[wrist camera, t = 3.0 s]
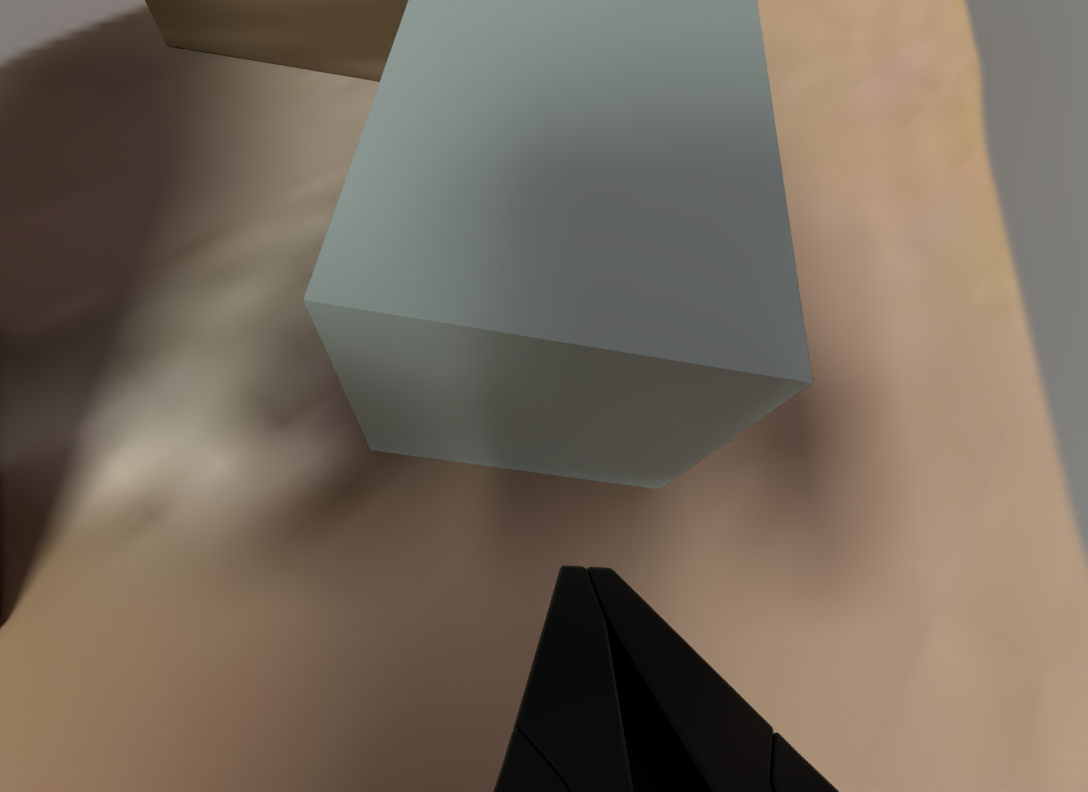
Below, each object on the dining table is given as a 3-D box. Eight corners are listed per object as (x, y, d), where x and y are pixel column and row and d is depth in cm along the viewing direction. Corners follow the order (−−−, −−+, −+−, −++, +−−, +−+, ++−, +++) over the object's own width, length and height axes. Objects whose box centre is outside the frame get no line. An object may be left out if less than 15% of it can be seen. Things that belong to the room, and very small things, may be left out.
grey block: (657, 490, 17) (812, 382, 9) (371, 451, 16) (303, 300, 9) (656, 193, 22) (754, -18, 15) (445, 151, 21) (441, -95, 14)
